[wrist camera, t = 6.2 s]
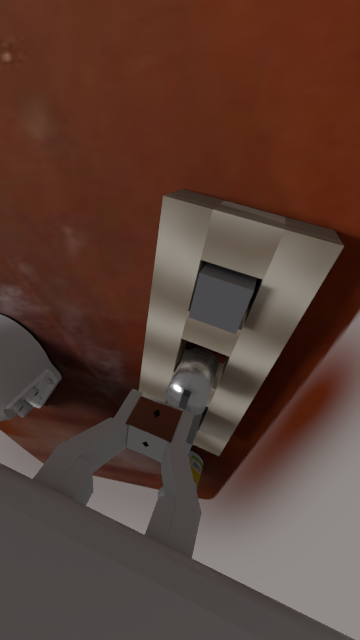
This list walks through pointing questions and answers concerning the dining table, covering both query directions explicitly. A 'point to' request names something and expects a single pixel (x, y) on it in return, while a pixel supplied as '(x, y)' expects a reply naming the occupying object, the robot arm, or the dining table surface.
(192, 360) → the steel dial
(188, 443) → the inner button
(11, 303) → the dining table surface
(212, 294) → the outer button
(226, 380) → the mount
